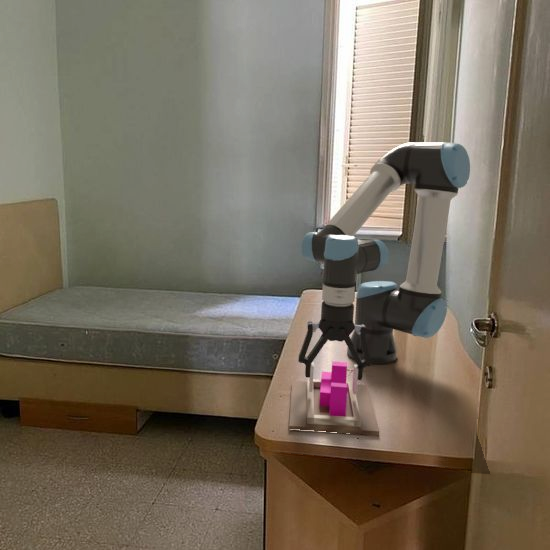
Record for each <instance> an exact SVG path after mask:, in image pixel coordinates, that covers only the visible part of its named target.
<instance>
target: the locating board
mask: <svg viewBox="0 0 550 550" xmlns="http://www.w3.org/2000/svg"><path fill="white" fill-rule="evenodd" d="M306 380H307V381H303V380H302V381H298V380H297V381H296V380H292V381H291V392H290V393H291V394H290V395H291V396H290V407H289V420H288V421H289V423H288V430H289V429H300V430H314V431H326V432H337V433H350V434H349V435H351V434H363V435H362V436H368V435H379V436H380V428H379V424H378V420H377V416H376V413H375V408H374V404H373V400H372V397H371V394H370V393H371V392H370V390H369V385H368V384H357V394H353V380H346V384H347V387H348V388H347V402H346V417H344V416H329V411H330V407H328V406H319V403H320V389H321V379H317V378H316V379H315V378H313V390H312V392H309V382H310V378H307V379H306Z"/></svg>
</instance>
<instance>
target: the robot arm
mask: <svg viewBox="0 0 550 550" xmlns="http://www.w3.org/2000/svg"><path fill="white" fill-rule="evenodd" d="M470 162H471V161H470V156H469V154H468V151H467V149H466V148H465V146H463V145H462V144H460V143H456V142H448V141H447V142H446V141H444V142H442V141H441V142H440V141H439V142H437V141H436V142H431V141H430V142H422V141H421V142H420V141H419V142H417V141H414V142H413V141H412V142H410V141H409V142H406V143H403V144H400V145H399V146H396V147H394V148H393V149H391V150H390V151H388V152H387V153H385V154H384V155H383V156H381V158H379V159H378V160H377V161H376V162H375V163H374V165H372V167H371V168H370V170H369V174H370V175H368V177H367V178H366V179H365V180H364V181H363V182H362V184H361V185H360V186H359V187H358V188H357V189H356V190H355V191H354V192H353V194H352V195H351V196H350V197H349V199H347V200H346V201H345V203H344V204H343V205H342V206H341V207H340V209H339V210H338V211H336V213H335V214H334V215H332V218H330V220H329V221H328V222H327V223H326V225H325V226H324V227H323V228H322V229H321V230H320V231H309V232H307V233H306V234H305V235H304V236H303V238H302V240H301V245H300V250H301V253H302V255H303V257H304V258H305V259H306V260H308V261H312V262H315V263H318V264H319V263H321V264H323V280H322V289H321V290H322V291H321V292H322V295H321V300H322V302H321V311H320V312H321V313H320V320H319V321H318V322H312V321H311V320H310V321H308V322H307V331H306V334H305V336H304V340H303V343H302V345H301V348H300V351H299V355H298V358H297V359H298V360H297V361H298V363H301V364H304V365H305V367H304V368H305V371H304V373H305V374H304V376H305V378H308V379H310V382H309V392H312V390H313V379H314V372H315V371H314V369H315V364H314V363H315V362H314V360H315V359H316V357H317V355H318V354H319V353H320V351H322V349H323V347H324V345H326V344H327V342H328V341H329V342H335V341H337V342H344V343H345V344H346V346H347V351H346V354H347V356H348V357H349V358H351V359H352V360H354V361H355V364H353V376H352V381H353V394H357V385H358V381H362V380H363V374H364V373H363V372H364V368H365V367H371V365H382V364H383V365H384V364H389V363H393V362H395V361H396V360H397V356H398V350H397V344H396V342H395V337H394V330H395V331H398V332H402V333H404V334H409V335H412V336H414V337H420V338H424V339H429V338H433V337H434V336H436V334H437V333H438V332H439V331H440V330H441V328H442V327H443V325H444V322H445V319H446V316H447V312H448V307H447V306H448V305H447V301H445V300H444V299H443V298H442V297H441V296H442V290H441V289H440V287H439V286H438V281H439V275H440V269H441V264H442V263H441V262H442V256H443V250H444V245H445V244H444V242H445V238H446V231H447V226H448V220H449V213H450V206H451V202H452V201H451V200H452V199H454V198H455V197H456V196H458V194H459V189H461V188H464V187H465V186H466V185H467V184H468V181H469V179H470V175H471V174H470V173H471V163H470ZM407 184H412V185H414V192H415V193H416V194H417V195H418V196H417V197H418V200H417V207H416V213H415V218H414V219H415V220H414V225H413V234H412V240H411V245H410V251H409V252H410V253H409V259H408V265H407V272H406V279H405V281H404V282H402V283H401V284H400V285H399V289H398V284H397V283H396V282H394V281H388V280H387V281H386V280H374V281H367V282H366V281H365V282H363V283H361V284H359V285H358V286H357V290H356V282H357V281H356V280H357V275H359V274H364V273H368V272H374V271H376V270H378V269H381V268H383V267H384V266H386V264H387V262H388V260H389V249H388V247H387V245H386V244H385V242H383V241H382V240H380V239H376V238H375V239H372V238H369V239H364V240H363V239H359V238H357V237H356V236H355V235H356V234H357V233H358V232H359V230H360V229H361V228H362V227H363V225H364V224H365V223H366V222H367V221H368V219H369V218H370V217H371V216H372V215H373V214H374V212H375V211H376V210H377V209H378V207H380V206H381V204H382V203H383V202H384V200H385V199H386V198H387V197H388V196H389V194H390V193H391V192H392V193H394V192H395V191H398V190H399V188H400V187H401V186H403V185H407ZM354 302H356V303H355V305H354ZM354 312H355V315H354ZM354 316H355V317H354ZM318 329H319V330H320V332H321V335H320V336H319V339H318V340H317V342H316V343H315V345H314V346H313V347H312V349H311V351H310V352H309V353H308V350H309V346H310V344H311V341H312V338H313V334H314V333H315V332H316V331H317V330H318ZM351 334H352V335H351ZM350 335H351V337H350ZM307 353H308V355H307Z"/></svg>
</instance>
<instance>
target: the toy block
mask: <svg viewBox="0 0 550 550" xmlns="http://www.w3.org/2000/svg"><path fill="white" fill-rule="evenodd" d="M347 374H348V362H345V361H333V360H332V362H331V371H321V378H320V380H321V389H320V403H319V406H328V407H330V411H329V416H344V417H346V402H347V388H348V387H347V384H346V381H347V376H348V375H347Z"/></svg>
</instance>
